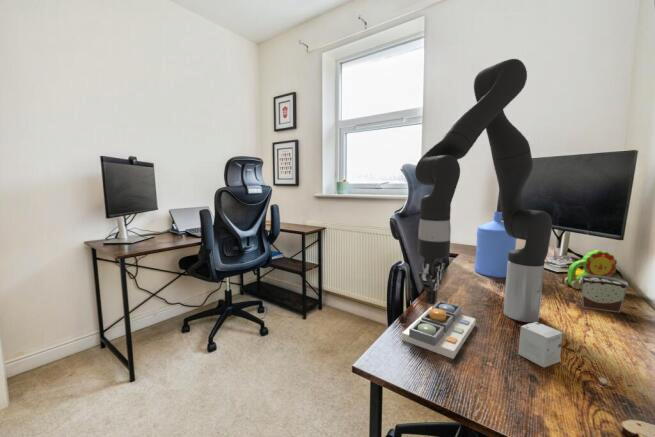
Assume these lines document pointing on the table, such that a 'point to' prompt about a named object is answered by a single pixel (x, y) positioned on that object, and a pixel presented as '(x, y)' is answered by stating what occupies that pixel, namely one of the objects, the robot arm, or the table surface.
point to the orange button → (437, 315)
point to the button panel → (441, 332)
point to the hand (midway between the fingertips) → (431, 302)
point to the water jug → (493, 248)
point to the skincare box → (540, 344)
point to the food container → (603, 292)
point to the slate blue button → (447, 308)
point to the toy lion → (591, 267)
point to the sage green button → (427, 329)
